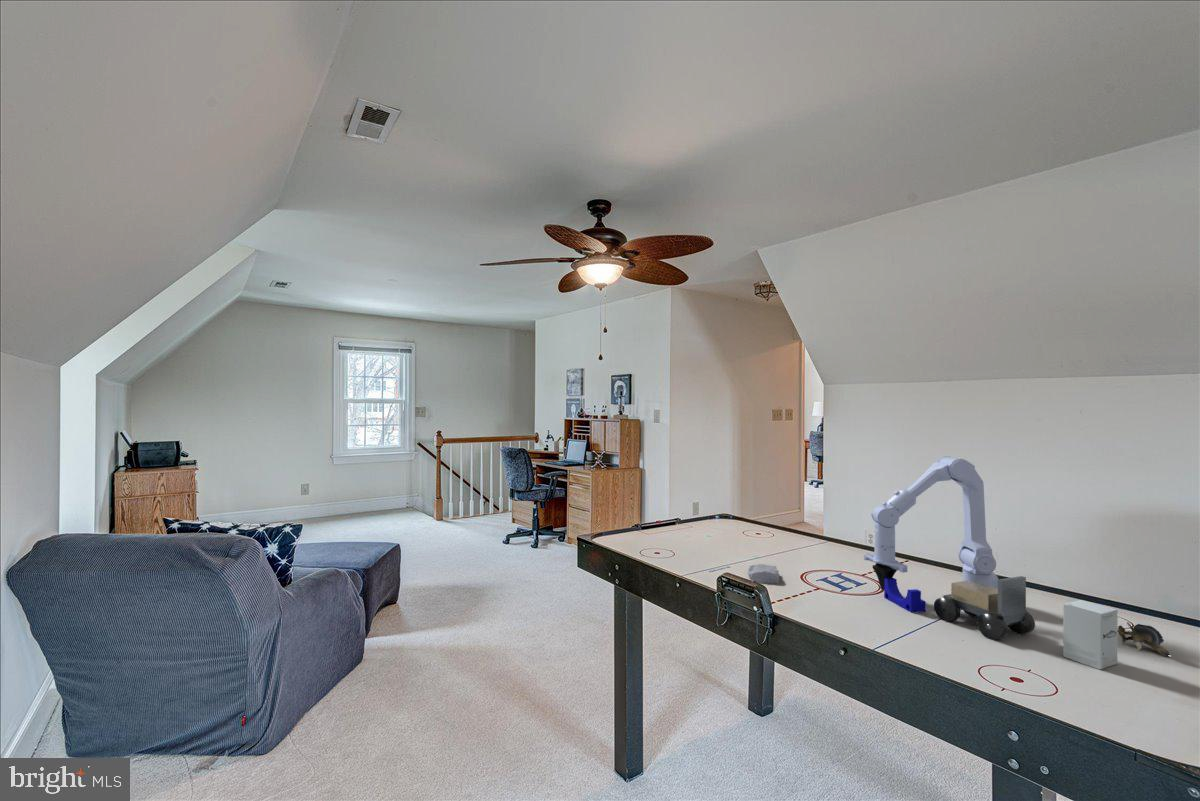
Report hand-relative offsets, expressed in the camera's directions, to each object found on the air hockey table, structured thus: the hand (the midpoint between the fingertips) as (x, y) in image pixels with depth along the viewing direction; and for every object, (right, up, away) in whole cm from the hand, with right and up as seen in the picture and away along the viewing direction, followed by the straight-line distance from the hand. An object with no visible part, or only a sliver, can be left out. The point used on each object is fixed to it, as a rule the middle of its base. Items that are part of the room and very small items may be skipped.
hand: (884, 589), depth 167 cm
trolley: (+14, -2, -23) cm, 27 cm away
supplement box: (+25, -2, -43) cm, 49 cm away
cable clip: (+2, -2, -8) cm, 8 cm away
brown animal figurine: (+44, -2, -36) cm, 57 cm away
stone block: (-33, -2, +16) cm, 37 cm away
